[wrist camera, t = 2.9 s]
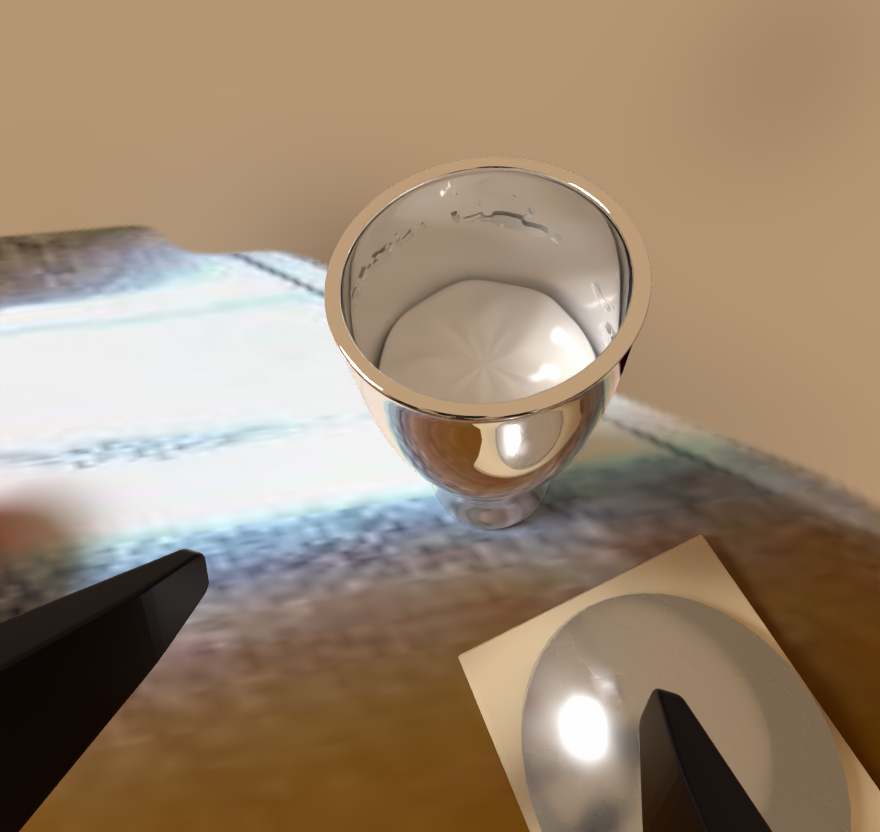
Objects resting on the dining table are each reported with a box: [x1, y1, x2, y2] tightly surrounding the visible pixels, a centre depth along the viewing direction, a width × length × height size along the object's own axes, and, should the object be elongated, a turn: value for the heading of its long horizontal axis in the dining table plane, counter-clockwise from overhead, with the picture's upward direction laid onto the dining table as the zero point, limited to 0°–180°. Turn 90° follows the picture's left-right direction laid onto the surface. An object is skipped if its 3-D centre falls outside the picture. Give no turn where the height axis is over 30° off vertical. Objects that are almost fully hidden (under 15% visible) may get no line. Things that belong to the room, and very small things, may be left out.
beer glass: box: [324, 157, 651, 529], centre depth 16 cm, size 7×7×15 cm
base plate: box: [459, 534, 880, 832], centre depth 17 cm, size 12×12×1 cm
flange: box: [521, 593, 851, 832], centre depth 16 cm, size 11×11×1 cm
